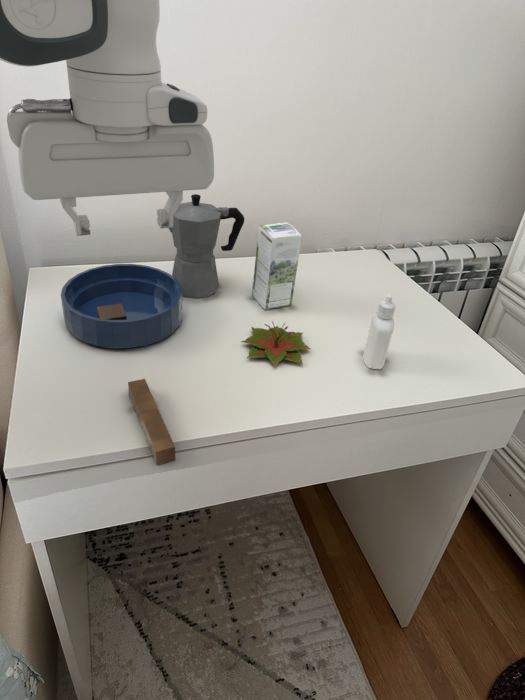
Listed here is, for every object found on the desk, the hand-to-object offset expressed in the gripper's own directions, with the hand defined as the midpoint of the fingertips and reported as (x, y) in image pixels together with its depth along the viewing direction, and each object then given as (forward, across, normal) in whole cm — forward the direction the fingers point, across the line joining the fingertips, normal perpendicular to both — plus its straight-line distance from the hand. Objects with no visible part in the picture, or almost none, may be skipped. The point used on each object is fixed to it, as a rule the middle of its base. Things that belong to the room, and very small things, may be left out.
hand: (125, 229), depth 61 cm
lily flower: (+25, +24, +4) cm, 35 cm away
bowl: (+25, +3, +20) cm, 32 cm away
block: (+24, 0, +16) cm, 29 cm away
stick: (+24, 0, 0) cm, 24 cm away
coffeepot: (+25, +19, +27) cm, 41 cm away
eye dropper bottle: (+25, +38, -4) cm, 46 cm away
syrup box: (+25, +30, +18) cm, 43 cm away
